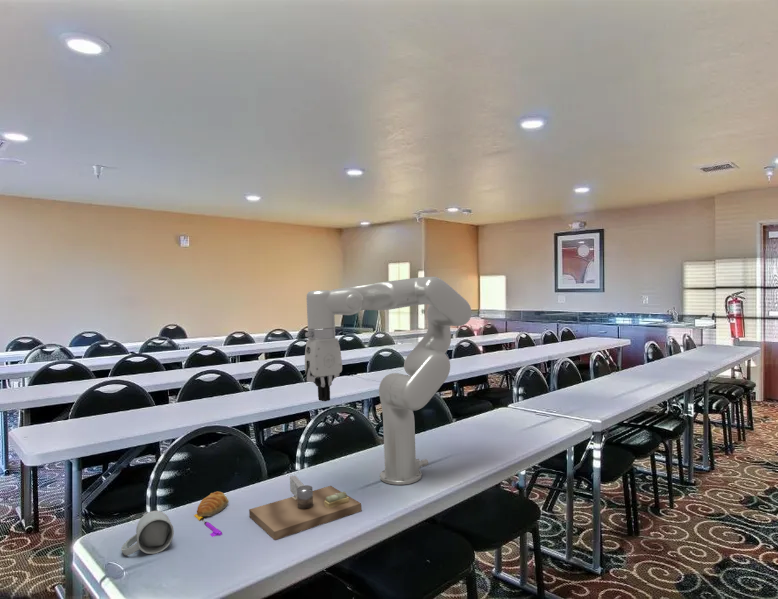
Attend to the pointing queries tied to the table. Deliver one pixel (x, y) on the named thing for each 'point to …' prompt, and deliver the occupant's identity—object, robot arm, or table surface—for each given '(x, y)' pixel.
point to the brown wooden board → (303, 512)
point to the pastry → (212, 504)
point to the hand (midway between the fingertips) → (324, 400)
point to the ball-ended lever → (301, 493)
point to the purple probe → (210, 527)
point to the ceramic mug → (150, 534)
